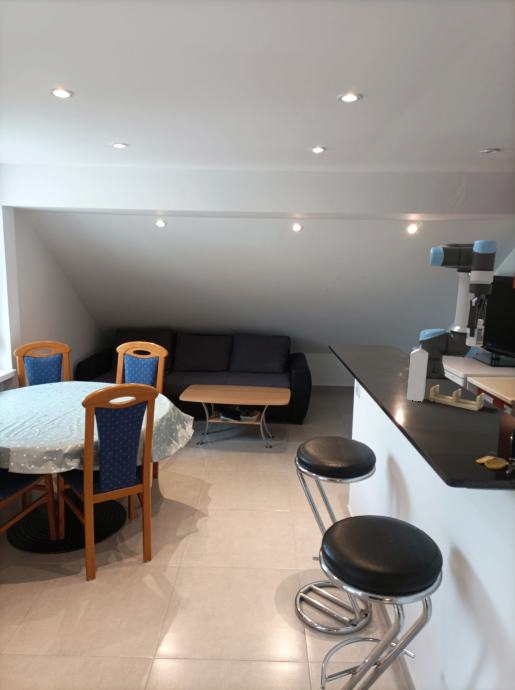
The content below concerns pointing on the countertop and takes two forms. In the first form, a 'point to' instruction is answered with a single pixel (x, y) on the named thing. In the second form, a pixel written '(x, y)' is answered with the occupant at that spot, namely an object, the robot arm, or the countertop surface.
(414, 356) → the milk
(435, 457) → the countertop surface
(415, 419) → the countertop surface
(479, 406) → the rack
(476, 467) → the countertop surface
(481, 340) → the pill bottle
